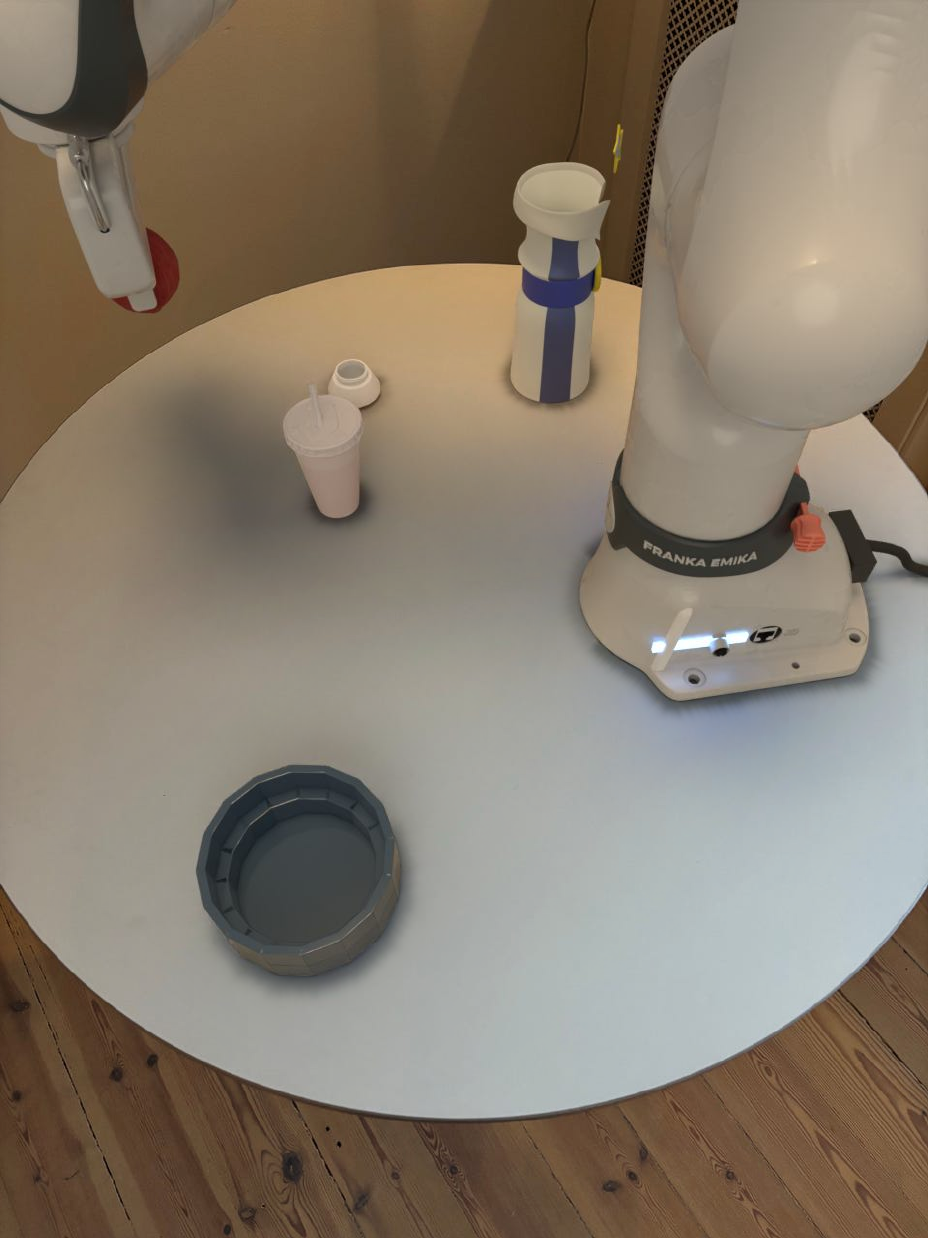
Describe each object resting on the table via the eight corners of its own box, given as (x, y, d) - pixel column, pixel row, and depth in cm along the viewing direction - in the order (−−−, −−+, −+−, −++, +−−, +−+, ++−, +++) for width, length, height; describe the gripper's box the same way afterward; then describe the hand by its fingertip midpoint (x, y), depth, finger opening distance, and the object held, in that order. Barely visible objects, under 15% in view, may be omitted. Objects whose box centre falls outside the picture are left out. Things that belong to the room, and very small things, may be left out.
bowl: (407, 800, 65) (400, 766, 60) (393, 981, 58) (384, 958, 53) (236, 795, 65) (217, 762, 61) (202, 974, 58) (178, 951, 54)
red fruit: (174, 339, 69) (139, 244, 63) (104, 332, 70) (62, 236, 63) (202, 292, 72) (171, 196, 66) (135, 285, 73) (98, 190, 67)
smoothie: (292, 523, 79) (258, 400, 68) (315, 470, 83) (288, 344, 71) (362, 535, 79) (340, 413, 67) (383, 481, 82) (366, 356, 70)
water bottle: (586, 342, 92) (614, 82, 72) (599, 401, 87) (634, 139, 67) (504, 348, 92) (510, 88, 71) (513, 407, 87) (522, 146, 66)
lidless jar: (354, 418, 87) (391, 391, 89) (351, 395, 84) (388, 367, 86) (318, 395, 89) (355, 369, 91) (313, 371, 86) (351, 344, 88)
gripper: (134, 154, 52) (201, 351, 63) (103, 7, 63) (165, 196, 75) (20, 177, 51) (110, 372, 62) (10, 23, 62) (87, 212, 74)
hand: (140, 275), depth 69 cm, fingers closed on red fruit, 6 cm apart
